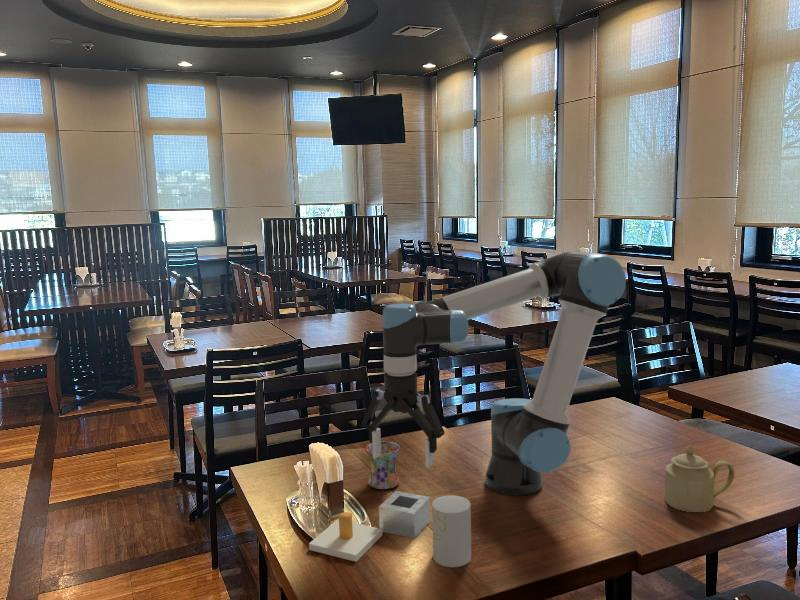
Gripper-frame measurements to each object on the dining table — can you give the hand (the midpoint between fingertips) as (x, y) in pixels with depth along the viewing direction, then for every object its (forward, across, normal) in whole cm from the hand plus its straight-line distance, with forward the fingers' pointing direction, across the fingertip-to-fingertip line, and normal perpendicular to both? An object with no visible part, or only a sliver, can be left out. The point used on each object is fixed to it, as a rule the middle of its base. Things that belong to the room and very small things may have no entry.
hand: (402, 460), depth 148 cm
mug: (+16, +16, -19) cm, 30 cm away
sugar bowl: (+16, -61, -39) cm, 74 cm away
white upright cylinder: (+16, -15, +8) cm, 24 cm away
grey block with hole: (+16, 0, 0) cm, 16 cm away
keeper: (+16, +9, +12) cm, 22 cm away
